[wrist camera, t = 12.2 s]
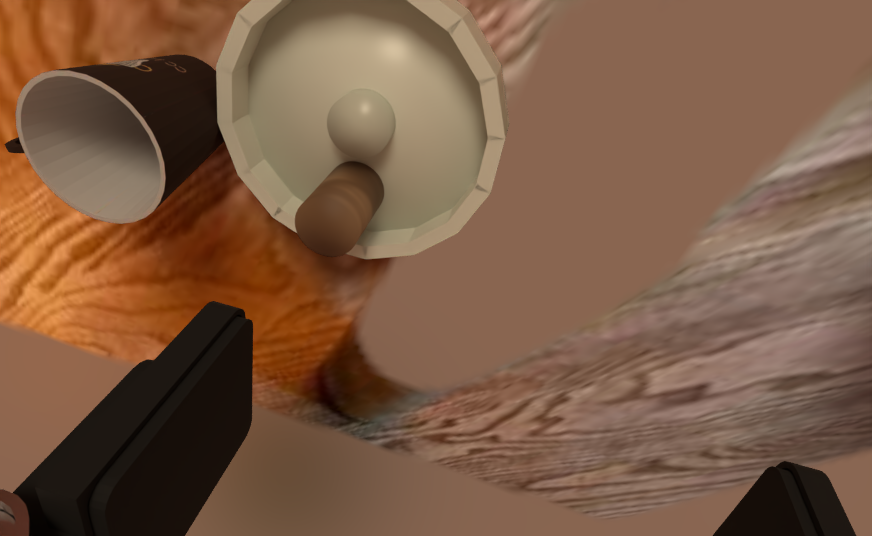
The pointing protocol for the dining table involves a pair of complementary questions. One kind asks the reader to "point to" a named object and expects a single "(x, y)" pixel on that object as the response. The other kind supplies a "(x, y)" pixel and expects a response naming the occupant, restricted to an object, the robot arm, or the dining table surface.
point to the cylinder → (339, 209)
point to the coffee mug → (119, 132)
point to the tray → (365, 110)
